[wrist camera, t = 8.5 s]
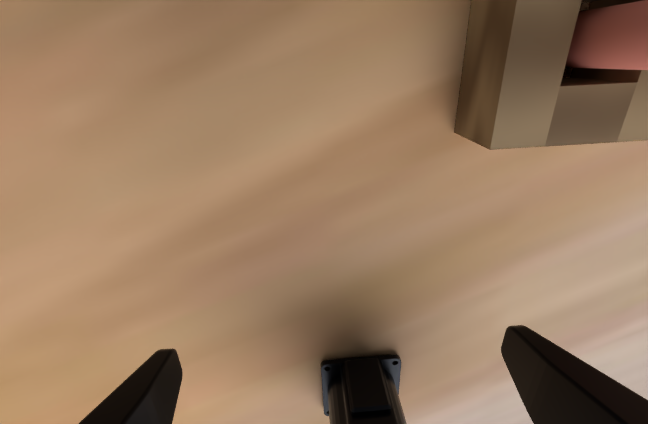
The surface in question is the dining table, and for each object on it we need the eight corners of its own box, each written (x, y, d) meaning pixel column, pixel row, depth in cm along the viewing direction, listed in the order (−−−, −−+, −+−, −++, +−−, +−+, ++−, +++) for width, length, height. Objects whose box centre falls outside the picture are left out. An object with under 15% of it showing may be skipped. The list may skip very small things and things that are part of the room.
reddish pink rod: (562, 65, 18) (779, 71, 10) (520, 67, 18) (704, 75, 10) (575, 15, 17) (830, -26, 9) (530, 17, 17) (745, -23, 9)
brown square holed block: (601, 123, 19) (669, 138, 16) (454, 132, 19) (490, 149, 16) (662, -67, 16) (770, -105, 12) (479, -61, 15) (534, -98, 12)
